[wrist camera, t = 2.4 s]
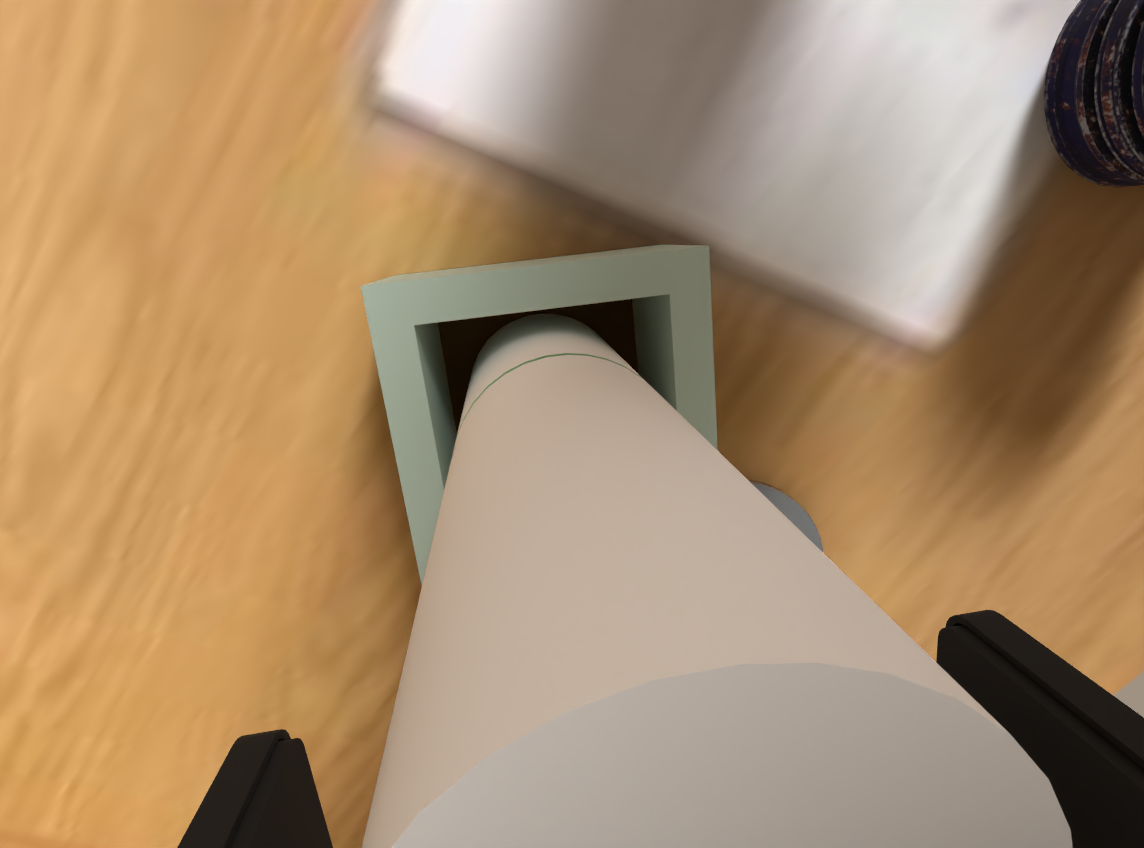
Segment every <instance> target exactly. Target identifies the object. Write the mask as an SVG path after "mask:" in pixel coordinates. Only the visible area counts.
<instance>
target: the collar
mask: <svg viewBox="0 0 1144 848" xmlns="http://www.w3.org/2000/svg"><path fill="white" fill-rule="evenodd" d="M361 290H362V295H363V300H364V304H365V309H366V314H367V319H368V324H369V329H370V334H371V339H372V344H373V349H374V354H375V359H376V364H377V369H378V373H379V378H380V383H381V388H382V393H383V398H384V403H385V408H386V413H387V418H388V423H389V428H390V433H391V438H392V442H393V447H394V452H395V457H396V462H397V467H398V472H399V477H400V482H401V487H402V492H403V497H404V502H405V507H406V511H407V516H408V521H409V526H410V531H411V536H412V541H413V546H414V551H415V556H416V561H417V566H418V571H419V576H420V581H421V585H422V584H423V580H424V576H425V571H426V567H427V563H428V558H429V554H430V550H431V545H432V541H433V537H434V532H435V528H436V524H437V519H438V515H439V511H440V506H441V502H442V498H443V493H444V489H445V485H446V480H447V476H448V472H449V467H450V463H451V459H452V454H453V450H454V446H455V442H456V437H457V432H456V426H455V420H454V414H453V409H452V403H451V397H450V391H449V385H448V379H447V373H446V367H445V362H444V356H443V350H442V344H441V338H440V332H439V326H438V322H445V321H453V320H462V319H470V318H478V317H486V316H495V315H503V314H511V313H519V312H527V311H536V310H544V309H552V308H560V307H569V306H577V305H585V304H593V303H601V302H610V301H618V300H626V299H632V303H633V316H634V328H635V341H636V354H637V366H638V374H639V375H640V376H641V377H642V378H643V379H644V380H645V381H646V382H647V383H648V384H649V385H650V386H651V387H652V388H653V389H654V390H655V391H657V392H658V393H659V394H660V395H661V396H662V397H663V398H664V399H665V400H666V401H667V402H668V403H669V404H670V405H671V406H672V407H673V408H674V409H675V410H676V411H677V412H678V413H679V414H680V415H681V416H682V417H683V418H684V419H685V420H687V421H688V422H689V423H690V424H691V425H692V426H693V427H694V428H695V429H696V430H697V431H698V432H699V433H700V434H701V435H702V436H703V437H704V438H705V439H706V440H707V441H708V442H709V443H710V444H711V445H712V446H713V447H714V448H715V449H716V450H717V451H718V444H717V421H716V397H715V373H714V350H713V326H712V303H711V279H710V255H709V246H703V245H653V246H645V247H636V248H627V249H619V250H610V251H601V252H593V253H584V254H575V255H567V256H558V257H550V258H541V259H532V260H524V261H515V262H506V263H498V264H489V265H480V266H472V267H463V268H454V269H446V270H437V271H428V272H420V273H411V274H403V275H395V276H391V277H388V278H385V279H382V280H379V281H376V282H372V283H369V284H366V285H363V286H361Z"/></svg>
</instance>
